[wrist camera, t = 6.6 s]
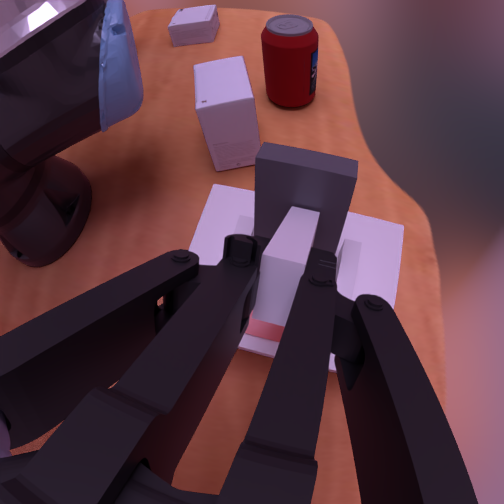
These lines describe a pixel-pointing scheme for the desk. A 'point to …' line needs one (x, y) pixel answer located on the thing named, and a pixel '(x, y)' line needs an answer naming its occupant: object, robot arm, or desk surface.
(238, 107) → the small box
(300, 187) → the lever
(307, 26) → the beverage can
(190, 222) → the desk surface
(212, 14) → the small box
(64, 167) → the robot arm
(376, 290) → the breaker box
